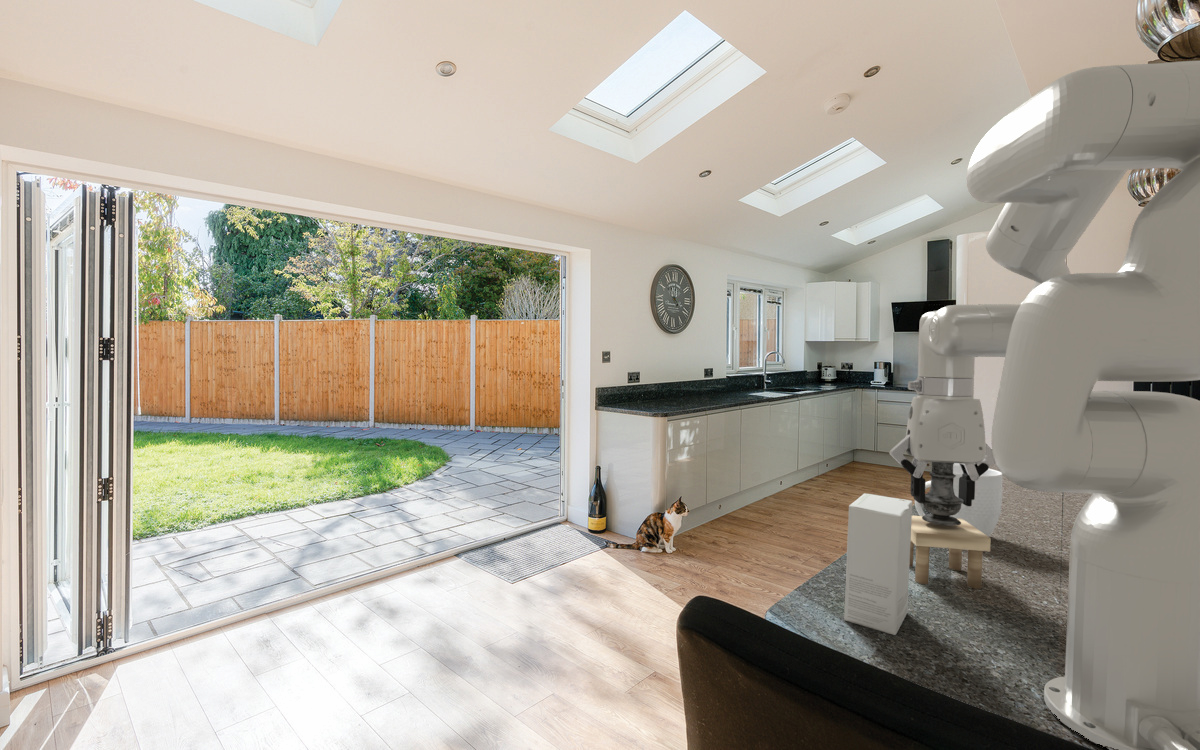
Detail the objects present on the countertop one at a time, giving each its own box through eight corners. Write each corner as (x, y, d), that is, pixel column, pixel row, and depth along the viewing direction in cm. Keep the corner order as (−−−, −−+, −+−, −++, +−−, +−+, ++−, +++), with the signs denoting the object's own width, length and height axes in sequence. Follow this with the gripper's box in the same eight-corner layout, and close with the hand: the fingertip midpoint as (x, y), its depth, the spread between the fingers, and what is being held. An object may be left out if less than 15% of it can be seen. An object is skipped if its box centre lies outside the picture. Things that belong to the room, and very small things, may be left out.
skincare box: (859, 599, 79) (862, 491, 78) (912, 614, 75) (915, 499, 74) (842, 621, 72) (845, 503, 72) (898, 638, 68) (902, 513, 67)
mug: (927, 542, 103) (929, 473, 103) (902, 525, 114) (904, 462, 114) (1013, 547, 101) (1016, 476, 101) (980, 528, 112) (982, 465, 112)
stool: (988, 591, 82) (990, 538, 82) (914, 584, 84) (916, 532, 84) (960, 566, 92) (962, 518, 91) (895, 560, 94) (896, 514, 94)
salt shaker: (970, 527, 84) (972, 449, 84) (927, 524, 85) (929, 447, 85) (953, 516, 90) (955, 443, 89) (914, 514, 91) (916, 442, 91)
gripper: (892, 389, 85) (889, 505, 86) (1019, 391, 81) (1015, 513, 82) (879, 386, 92) (876, 493, 93) (995, 389, 89) (992, 500, 89)
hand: (941, 501), depth 87 cm, fingers closed on salt shaker, 5 cm apart
